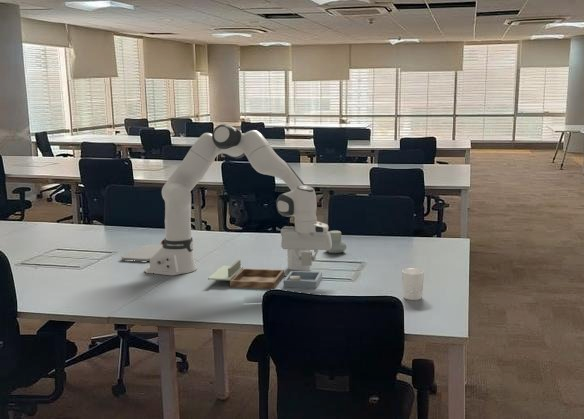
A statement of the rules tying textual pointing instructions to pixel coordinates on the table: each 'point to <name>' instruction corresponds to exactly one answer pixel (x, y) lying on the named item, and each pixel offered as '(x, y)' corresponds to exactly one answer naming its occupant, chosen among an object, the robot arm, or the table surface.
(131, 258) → the tablet
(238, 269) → the lid
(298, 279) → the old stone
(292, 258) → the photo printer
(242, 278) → the wooden tray
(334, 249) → the air freshener
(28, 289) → the table surface
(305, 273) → the bin
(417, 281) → the white cup
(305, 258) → the beige small block
